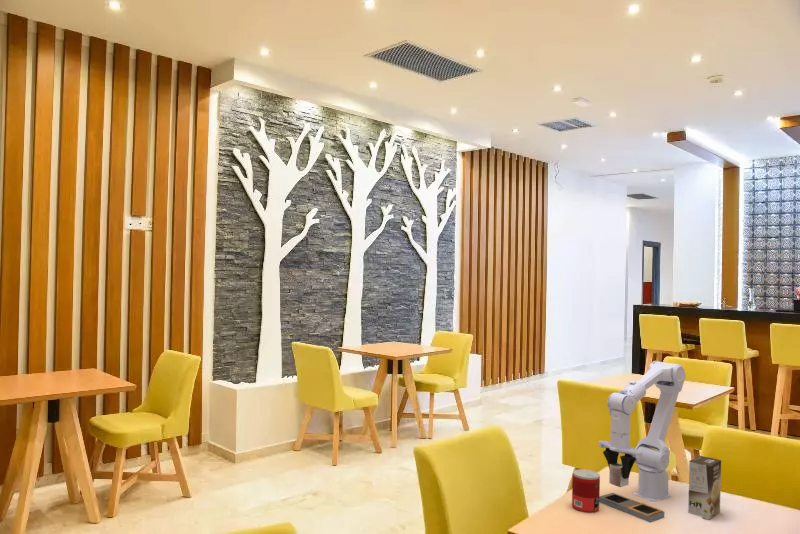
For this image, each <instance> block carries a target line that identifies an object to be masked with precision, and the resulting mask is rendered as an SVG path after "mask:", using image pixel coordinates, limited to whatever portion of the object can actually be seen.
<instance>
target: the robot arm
mask: <svg viewBox="0 0 800 534" xmlns="http://www.w3.org/2000/svg"><path fill="white" fill-rule="evenodd" d="M686 377H687V376H686V372H685V368H684V366H683V365H682V364H680V363H670V362H664V361H663V362H662V361H659V360H654V361H652V362H651V363H650V364H649V365H648V369H647V372H645V373H644V374H643V375H642V377H641V378H640V379H639V380H630V381H629V383H628V384H626V385H625V386H624V387H623V388H622V389H621V390H619V391H618V392H612V393H611V394H610V395H609V396H608V397H607V401H606V407H607V408H608V414H609V416H610V441H607V440H599V441H598V447H599V448H601V449H602V448H604V449H605V450H603V452H602V454H603V456H604V457H605V459H606V462H607V465H608V468H609V470H610V464H612V463H616V462H618V459H619V457H620V461H621V462H620V463H622V475H623V479H627V478H630V475H631V471H632V469H633V466H634V464H636V467H637V468H638V480H637V481H638V483H637V484H638V485H637V486H638V489H637V491H634V492H632V495H633V496H637V497H639V498H642V499H646V500H648V501H650V502H658V501H660V500H661V501H662V500H664V499H667V498H670V497H672V496H671V494H669V474H668V471H667V468H668V467H669V463H670V455H671V454H670V453H671V450H670V449H669V447H668V445H667V444H666V443H665V440H666V437H667V435H668V430H669V427H670V423H671V420H672V416H673V413H674V411H675V410H674V409H675V407H676V403H677V400H678V397H679V393H681V392H682V390H683V386H684V382H685V380H686ZM654 385H655V387H656V388H658V389H659V391H660V395H659V397H658V400H657V404H656V406H655V410H654V414H653V416H652V421H651V424H650V427H649V430H648V433H647V436H645V437H643V438H640V439H638V443H637V445H636V447H631V414H632V413H633V412H634V411H635V408H636V406H637V404H638V402H639V401H641V400H642V399H643V398H644V397H645V396H646V394H647V390H648V389H650V388H651V387H652V386H654ZM620 454H622V455H620ZM619 455H620V456H619Z"/></svg>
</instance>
